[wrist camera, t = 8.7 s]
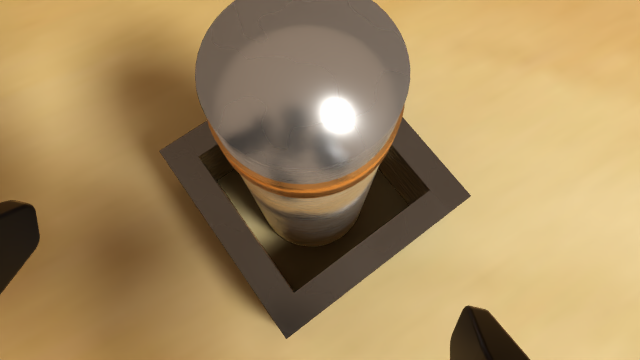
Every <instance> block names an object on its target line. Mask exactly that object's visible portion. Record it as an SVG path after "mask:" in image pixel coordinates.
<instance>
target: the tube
mask: <svg viewBox="0 0 640 360" xmlns="http://www.w3.org/2000/svg"><path fill="white" fill-rule="evenodd" d="M195 80H196V89H197V94H198V98H199V101H200V104H201V106H202V109H203V111H204V113H205V115H206V118H207V122H208V125H209V128H210V130H211V132H212V135H213V137H214V139H215V140H216V142H217V144H218V145H219V147H220V148H221V150H222V152H223V153H224V155H225V157H226V158H227V160H228V161H229V163H230V164H231V165H232V166H233V167H234V169H235V170H236V171H237V172H238V173H240V175H241V177H242V179H243V180H244V182H245V184H246V185H247V187H248V189H249V191H250V192H251V194H252V196H253V197H254V199H255V201H256V202H257V204H258V206H259V208H260V209H261V211H262V213H263V214H264V216H265V218H266V220H267V221H268V223H269V224H270V226H271V227H272V228H273V230H274V231H275V232H276V233H277V234H278V235H279V236H281V237H282V238H284V239H285V240H287V241H289V242H291V243H294V244H296V245H301V246H307V247H316V246H323V245H326V244H329V243H332V242H334V241H336V240H338V239H339V238H341V237H342V236H344V235H345V234H346V233H347V232H348V231H349V230H350V229H351V228H352V226H353V225H354V223H355V222H356V220H357V218H358V216H359V213H360V211H361V208H362V206H363V203H364V201H365V199H366V196H367V194H368V191H369V189H370V186H371V184H372V182H373V179H374V177H375V174H376V172H377V169H378V167H379V165H380V163H381V162H382V160H383V159H384V157H385V156H386V154H387V153H388V151H389V149H390V147H391V145H392V143H393V140H394V138H395V136H396V133H397V131H398V129H399V126H400V123H401V120H402V116H403V111H404V103H405V100H406V97H407V94H408V89H409V83H410V63H409V56H408V52H407V48H406V45H405V42H404V40H403V38H402V36H401V33H400V32H399V30H398V28H397V27H396V25H395V23H394V22H393V21H392V20H391V18H390V17H389V16H388V15H387V13H386V12H385V11H384V10H383V9H381V8H380V7H379V6H378V5H377V4H376V3H375V2H373V1H372V0H235V1H234V2H232V3H231V4H230V5H229V6H228V7H227V8H226V9H224V10H223V11H222V12H221V14H220V15H219V16H218V17H217V18H216V19H215V20H214V22H213V23H212V25H211V26H210V28H209V29H208V31H207V33H206V34H205V36H204V38H203V40H202V43H201V46H200V49H199V52H198V56H197V61H196V70H195Z"/></svg>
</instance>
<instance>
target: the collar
mask: <svg viewBox="0 0 640 360" xmlns="http://www.w3.org/2000/svg"><path fill="white" fill-rule="evenodd" d="M160 153H161V154H162V156H163V157H164V159H165V160H166V162H167V163H168V165H169V166H170V168H171V169H172V171H173V172H174V174H175V175H176V177H177V178H178V180H179V181H180V182H181V184H182V185H183V187H184V188H185V190H186V191H187V193H188V194H189V196H190V197H191V199H192V200H193V202H194V203H195V205H196V206H197V208H198V209H199V211H200V212H201V214H202V215H203V217H204V218H205V219H206V221H207V222H208V224H209V225H210V227H211V228H212V230H213V231H214V233H215V234H216V236H217V237H218V239H219V240H220V242H221V243H222V245H223V246H224V248H225V249H226V251H227V252H228V254H229V255H230V256H231V258H232V259H233V261H234V262H235V264H236V265H237V267H238V268H239V270H240V271H241V273H242V274H243V276H244V277H245V279H246V280H247V282H248V283H249V285H250V286H251V288H252V289H253V291H254V292H255V293H256V295H257V296H258V298H259V299H260V301H261V302H262V304H263V305H264V307H265V308H266V310H267V311H268V313H269V314H270V316H271V317H272V319H273V320H274V322H275V323H276V325H277V326H278V328H279V329H280V330H281V332H282V333H283V335H284V336H285V338H286V339H287V338H288V337H290V336H291V335H292V334H293V333H295V332H296V331H297V330H299V329H300V328H301V327H302V326H304V325H305V324H306V323H308V322H309V321H310V320H311V319H313V318H314V317H315V316H317V315H318V314H319V313H321V312H322V311H323V310H324V309H326V308H327V307H328V306H330V305H331V304H332V303H333V302H335V301H336V300H337V299H339V298H340V297H341V296H342V295H344V294H345V293H346V292H348V291H349V290H350V289H351V288H353V287H354V286H355V285H357V284H358V283H359V282H361V281H362V280H363V279H364V278H366V277H367V276H368V275H370V274H371V273H372V272H373V271H375V270H376V269H377V268H379V267H380V266H381V265H382V264H384V263H385V262H386V261H388V260H389V259H390V258H391V257H393V256H394V255H395V254H397V253H398V252H399V251H401V250H402V249H403V248H404V247H406V246H407V245H408V244H410V243H411V242H412V241H413V240H415V239H416V238H417V237H419V236H420V235H421V234H422V233H424V232H425V231H426V230H428V229H429V228H430V227H431V226H433V225H434V224H435V223H437V222H438V221H439V220H440V219H442V218H443V217H444V216H446V215H447V214H448V213H450V212H451V211H452V210H453V209H455V208H456V207H457V206H459V205H460V204H461V203H462V202H464V201H465V200H466V199H468V198H469V197H470V196H471V195H470V194H469V193H468V192H467V191H466V190H465V188H464V187H463V186H462V185H461V184H460V183H459V182H458V180H457V179H456V178H455V177H454V176H453V175H452V174H451V172H450V171H449V170H448V169H447V168H446V167H445V165H444V164H443V163H442V162H441V161H440V160H439V159H438V157H437V156H436V155H435V154H434V153H433V152H432V151H431V149H430V148H429V147H428V146H427V145H426V144H425V142H424V141H423V140H422V139H421V138H420V137H419V136H418V134H417V133H416V132H415V131H414V130H413V129H412V128H411V126H410V125H409V124H408V123H407V122H406V121H405V119H404V118H403V117H402V120H401V123H400V126H399V129H398V131H397V133H396V136H395V138H394V140H393V143H392V145H391V147H390V149H389V151H388V153H387V154H386V156H385V157H384V159H383V160H382V162H381V163H380V165H379V167H378V168H379V169H380V170H381V172H382V173H383V174H384V175H385V176H386V178H387V179H388V180H389V181H390V182H391V184H392V185H393V186H394V187H395V189H396V190H397V191H398V192H399V193H400V195H401V196H402V197H403V198H404V200H405V201H406V202H407V203H408V204H409V206H408V207H407V208H406V209H404V210H403V211H402V212H400V213H399V214H398V215H396V216H395V217H394V218H393V219H391V220H390V221H389V222H387V223H386V224H385V225H383V226H382V227H381V228H379V229H378V230H377V231H375V232H374V233H373V234H371V235H370V236H369V237H367V238H366V239H365V240H363V241H362V242H361V243H359V244H358V245H357V246H355V247H354V248H353V249H351V250H350V251H349V252H347V253H346V254H345V255H343V256H342V257H341V258H340V259H338V260H337V261H336V262H334V263H333V264H332V265H330V266H329V267H328V268H326V269H325V270H324V271H322V272H321V273H320V274H318V275H317V276H316V277H314V278H313V279H312V280H310V281H309V282H308V283H306V284H305V285H304V286H302V287H301V288H300V289H298V290H297V291H296V292H294V291H293V289H292V288H291V286H290V285H289V284H288V282H287V281H286V279H285V278H284V276H283V275H282V274H281V272H280V271H279V269H278V268H277V266H276V265H275V264H274V262H273V261H272V259H271V258H270V256H269V255H268V254H267V252H266V251H265V249H264V248H263V246H262V245H261V244H260V242H259V241H258V239H257V238H256V236H255V235H254V234H253V232H252V231H251V229H250V228H249V227H248V225H247V224H246V222H245V221H244V219H243V218H242V217H241V215H240V214H239V212H238V211H237V209H236V208H235V207H234V205H233V204H232V202H231V201H230V199H229V198H228V197H227V195H226V194H225V192H224V191H223V189H222V188H221V187H220V185H219V184H218V182H217V180H218V179H220V178H221V177H223V176H224V175H226V174H227V173H229V172H230V171H232V170H233V169H234V167H233V166H232V165H231V164H230V163H229V161H228V160H227V158H226V157H225V155H224V153H223V152H222V150H221V148H220V147H219V145H218V144H217V142H216V140H215V139H214V137H213V135H212V132H211V130H210V128H209V125H208V122H207V121H206V122H204V123H203V124H201V125H199V126H198V127H196V128H195V129H193V130H192V131H190V132H188V133H187V134H185V135H184V136H182V137H181V138H179V139H177V140H176V141H174V142H173V143H171V144H170V145H168V146H166V147H165V148H163V149H162V150H160Z"/></svg>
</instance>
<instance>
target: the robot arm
mask: <svg viewBox="0 0 640 360" xmlns="http://www.w3.org/2000/svg"><path fill="white" fill-rule="evenodd" d="M39 239H40V234H39V228H38V223H37V217H36V211H35V208H34V207H33V206H32V205H31V204H28V203H24V202H20V201H15V200H10V201H5V202H1V203H0V294H1V293H2V292H3V290H4V289H5V288H6V286H7V285H8V284H9V283H10V281H11V280H12V279H13V277H14V276H15V275H16V274H17V272H18V271H19V270H20V268H21V267H22V266H23V265H24V263H25V262H26V261H27V259H28V258H29V257H30V255H31V254H32V253H33V252H34V250H35V249H36V247H37V245H38V243H39ZM450 360H530V359H529V358H528V356H527V355H526V354H525V353H524V352H523V351H522V349H521V348H520V347H519V346H518V345H517V344H516V342H515V341H514V340H513V339H512V338H511V337H510V335H509V334H508V333H507V332H506V331H505V330H504V329H503V327H502V326H501V325H500V324H499V323H498V322H497V320H496V319H495V318H494V317H493V316H492V315H491V313H490V312H489V311H487V310H485V309H482V308H478V307H473V306H466V307H465V308H464V309H463V310H462V312H461V315H460V317H459V319H458V322H457V324H456V326H455V329H454V331H453V333H452V336H451V341H450Z"/></svg>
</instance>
